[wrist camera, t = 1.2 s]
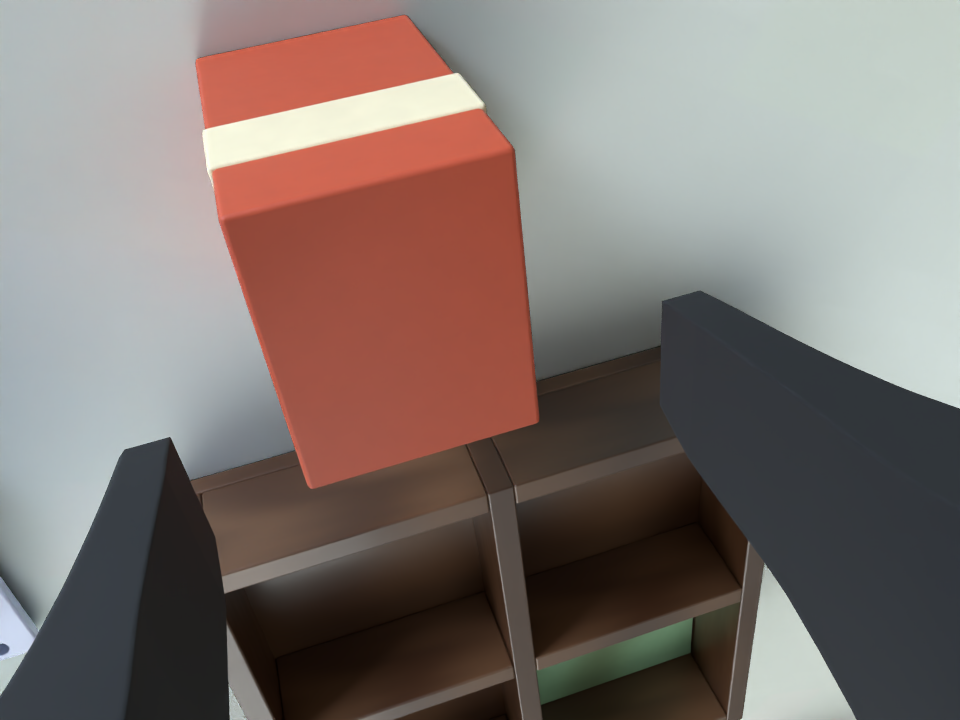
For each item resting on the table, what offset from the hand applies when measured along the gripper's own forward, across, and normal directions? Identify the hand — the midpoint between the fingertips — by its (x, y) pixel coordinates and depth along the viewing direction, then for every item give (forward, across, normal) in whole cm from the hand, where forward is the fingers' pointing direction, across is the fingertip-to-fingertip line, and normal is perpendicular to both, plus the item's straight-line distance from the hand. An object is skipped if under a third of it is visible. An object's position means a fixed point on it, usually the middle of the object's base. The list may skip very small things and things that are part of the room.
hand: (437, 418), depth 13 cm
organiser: (+9, -2, +16) cm, 19 cm away
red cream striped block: (+9, 0, 0) cm, 9 cm away
